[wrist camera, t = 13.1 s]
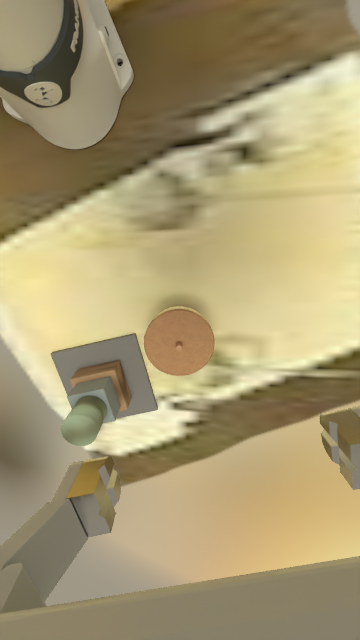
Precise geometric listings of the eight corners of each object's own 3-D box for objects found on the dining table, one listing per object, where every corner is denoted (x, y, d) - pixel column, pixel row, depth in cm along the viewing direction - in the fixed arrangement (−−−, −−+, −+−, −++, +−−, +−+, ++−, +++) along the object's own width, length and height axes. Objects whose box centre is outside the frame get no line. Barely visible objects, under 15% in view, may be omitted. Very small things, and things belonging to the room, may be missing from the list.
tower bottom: (78, 368, 46) (69, 379, 43) (119, 359, 46) (114, 369, 42) (92, 404, 49) (85, 418, 45) (131, 396, 48) (127, 409, 44)
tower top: (77, 383, 43) (66, 396, 39) (110, 376, 42) (103, 388, 39) (88, 412, 44) (79, 428, 41) (120, 405, 44) (115, 420, 40)
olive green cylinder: (71, 398, 39) (55, 419, 34) (101, 392, 39) (90, 412, 34) (81, 425, 40) (68, 448, 36) (111, 419, 40) (101, 442, 35)
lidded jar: (201, 360, 47) (206, 387, 38) (145, 350, 46) (136, 374, 37) (215, 306, 44) (224, 321, 35) (155, 294, 43) (149, 305, 34)
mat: (52, 352, 46) (50, 353, 46) (135, 333, 45) (134, 334, 45) (81, 423, 51) (80, 425, 50) (157, 407, 50) (157, 409, 49)
